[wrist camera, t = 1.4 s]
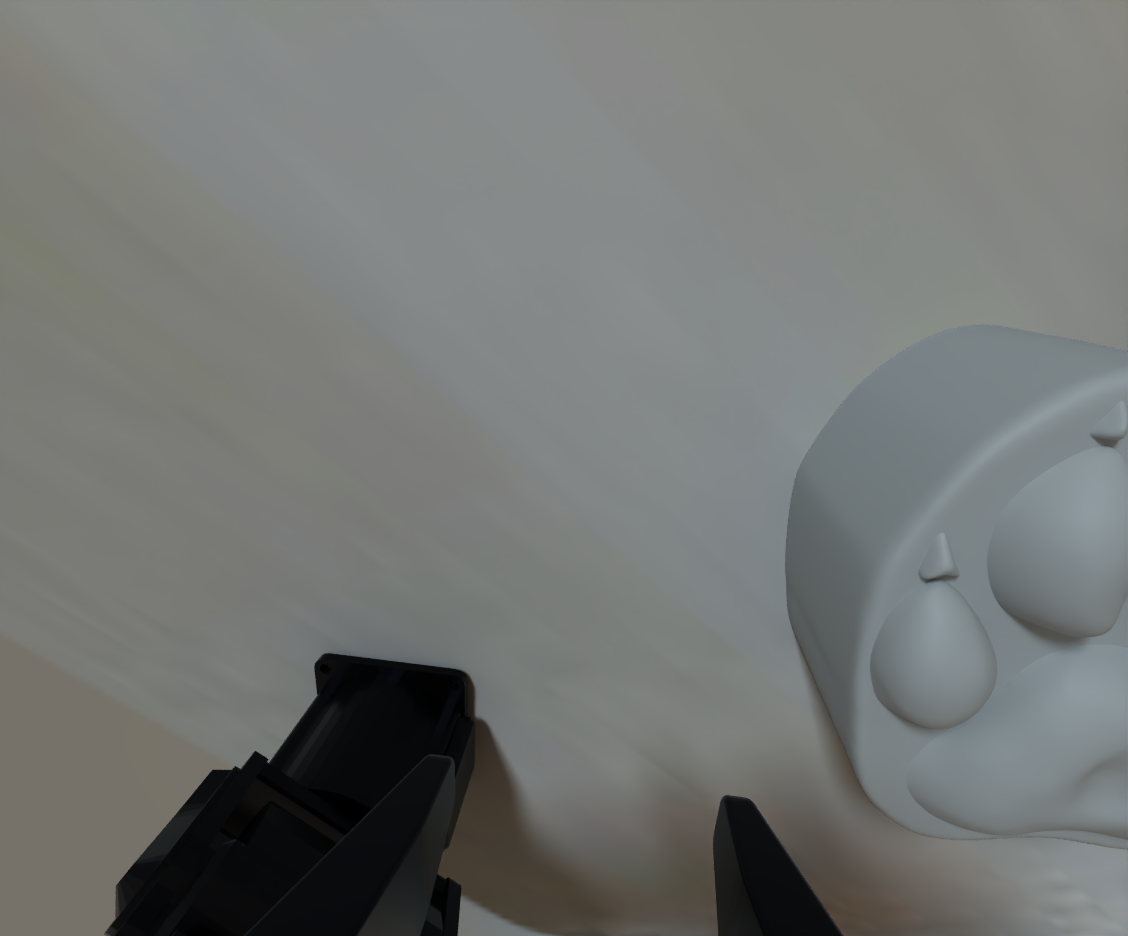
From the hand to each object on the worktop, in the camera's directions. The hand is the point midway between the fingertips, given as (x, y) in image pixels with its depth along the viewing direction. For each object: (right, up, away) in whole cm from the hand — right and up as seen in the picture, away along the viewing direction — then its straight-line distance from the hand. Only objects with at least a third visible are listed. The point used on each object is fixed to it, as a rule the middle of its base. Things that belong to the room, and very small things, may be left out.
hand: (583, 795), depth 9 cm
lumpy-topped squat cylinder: (+13, +3, +11) cm, 18 cm away
